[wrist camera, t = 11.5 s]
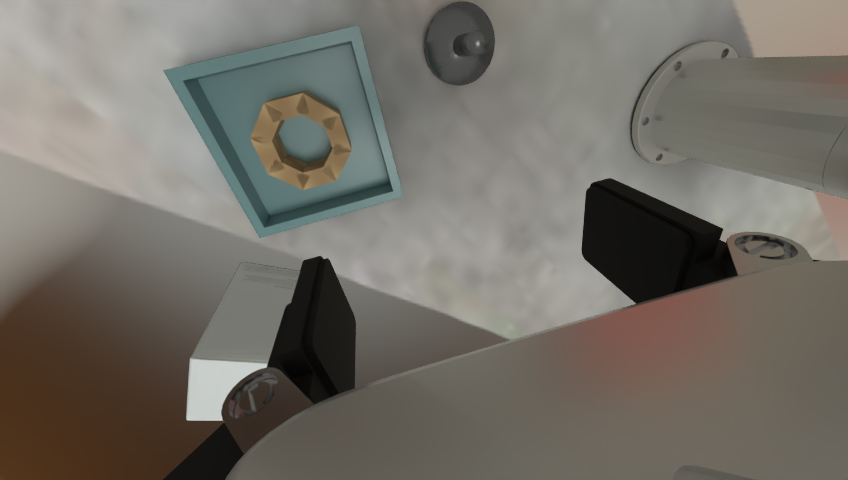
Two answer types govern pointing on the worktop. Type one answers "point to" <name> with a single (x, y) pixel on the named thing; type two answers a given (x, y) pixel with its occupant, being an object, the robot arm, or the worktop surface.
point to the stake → (459, 43)
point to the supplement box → (238, 336)
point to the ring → (276, 154)
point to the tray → (292, 126)
